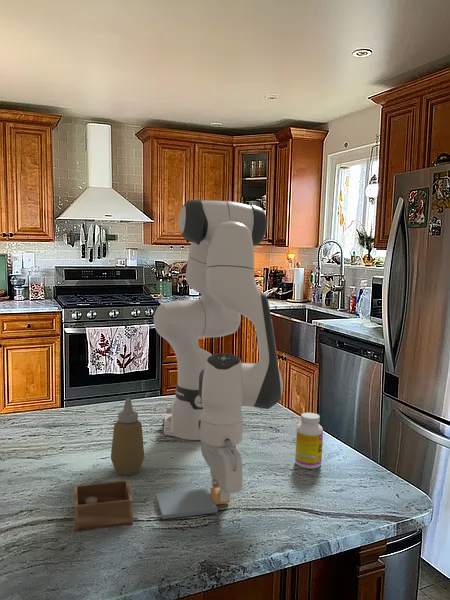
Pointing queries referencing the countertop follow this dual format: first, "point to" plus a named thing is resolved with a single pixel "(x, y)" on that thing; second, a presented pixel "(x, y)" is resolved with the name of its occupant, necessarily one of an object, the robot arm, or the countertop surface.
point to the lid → (189, 502)
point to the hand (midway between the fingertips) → (219, 493)
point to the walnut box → (102, 505)
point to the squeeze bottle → (127, 442)
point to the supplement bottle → (309, 441)
